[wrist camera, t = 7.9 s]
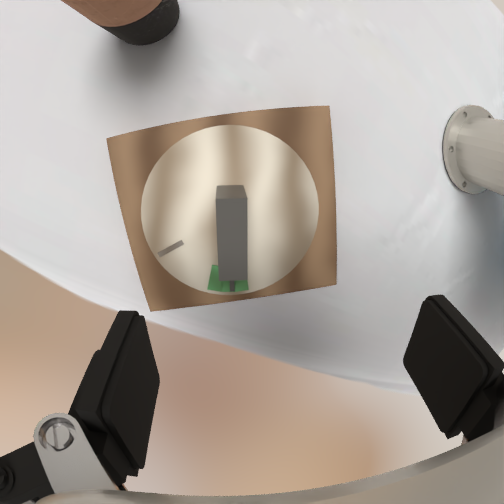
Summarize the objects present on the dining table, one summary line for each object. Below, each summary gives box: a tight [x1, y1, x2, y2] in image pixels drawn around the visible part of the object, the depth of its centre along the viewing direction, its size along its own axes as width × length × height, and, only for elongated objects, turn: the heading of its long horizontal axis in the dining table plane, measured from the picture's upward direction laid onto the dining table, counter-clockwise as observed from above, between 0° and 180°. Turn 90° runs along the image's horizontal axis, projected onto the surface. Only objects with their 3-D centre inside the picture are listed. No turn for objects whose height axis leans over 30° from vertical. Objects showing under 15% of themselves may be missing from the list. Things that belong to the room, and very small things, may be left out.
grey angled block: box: [216, 185, 248, 292], centre depth 28 cm, size 12×2×6 cm, turn 0°
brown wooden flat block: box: [107, 106, 337, 312], centre depth 32 cm, size 22×20×4 cm
